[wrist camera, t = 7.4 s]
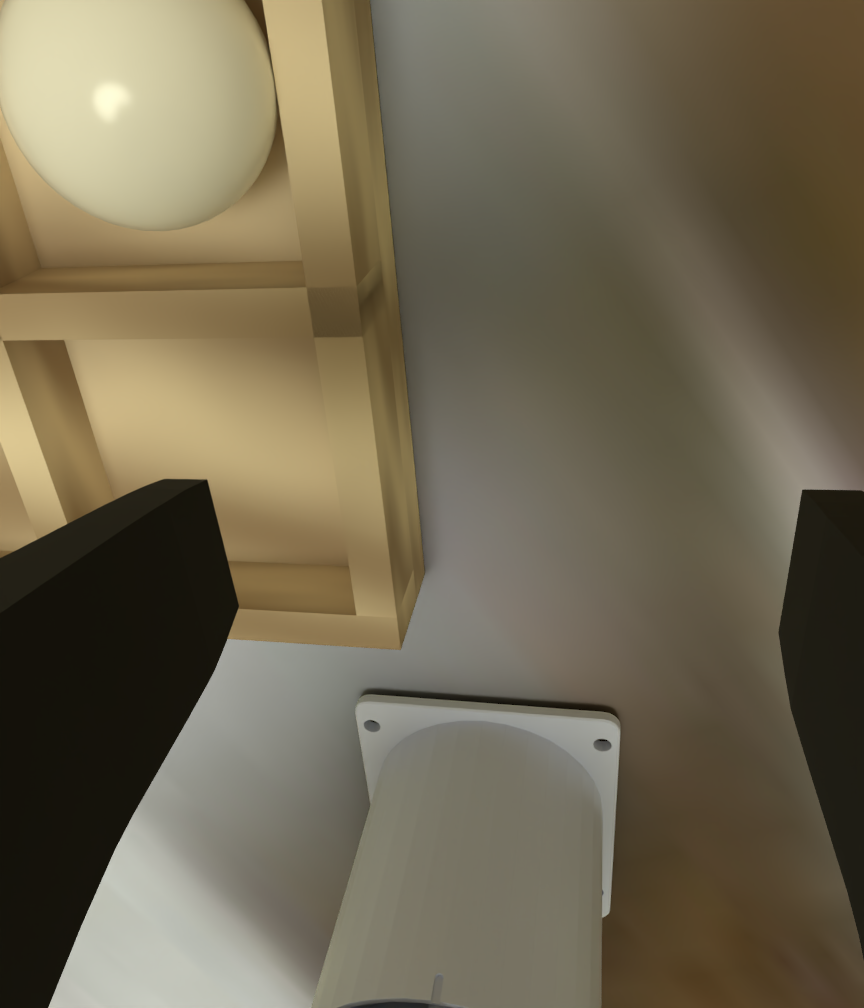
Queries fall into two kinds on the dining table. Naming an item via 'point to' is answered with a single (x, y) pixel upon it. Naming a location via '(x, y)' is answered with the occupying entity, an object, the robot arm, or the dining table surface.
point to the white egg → (139, 104)
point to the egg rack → (232, 356)
